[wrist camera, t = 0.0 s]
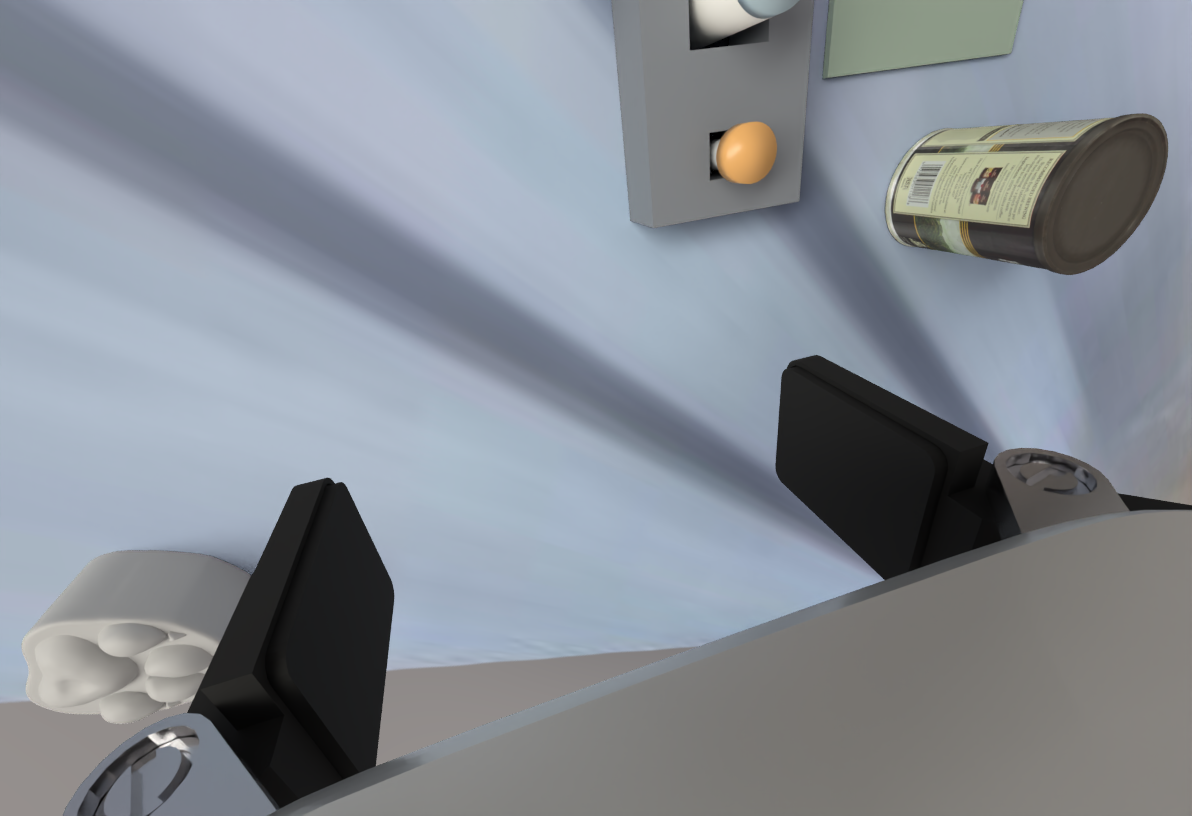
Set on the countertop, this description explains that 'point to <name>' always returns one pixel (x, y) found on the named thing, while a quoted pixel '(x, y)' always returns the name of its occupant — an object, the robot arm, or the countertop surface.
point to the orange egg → (744, 152)
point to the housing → (706, 108)
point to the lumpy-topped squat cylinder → (132, 634)
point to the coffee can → (1030, 190)
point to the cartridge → (728, 17)
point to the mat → (915, 33)
